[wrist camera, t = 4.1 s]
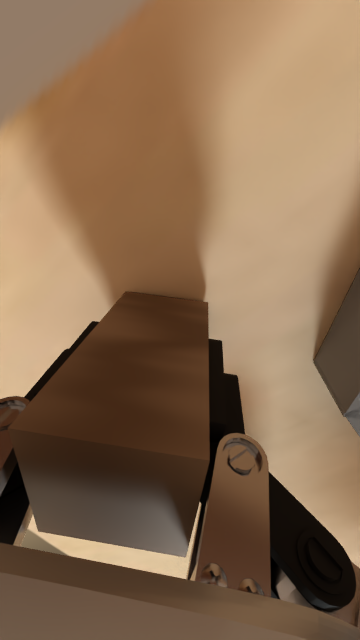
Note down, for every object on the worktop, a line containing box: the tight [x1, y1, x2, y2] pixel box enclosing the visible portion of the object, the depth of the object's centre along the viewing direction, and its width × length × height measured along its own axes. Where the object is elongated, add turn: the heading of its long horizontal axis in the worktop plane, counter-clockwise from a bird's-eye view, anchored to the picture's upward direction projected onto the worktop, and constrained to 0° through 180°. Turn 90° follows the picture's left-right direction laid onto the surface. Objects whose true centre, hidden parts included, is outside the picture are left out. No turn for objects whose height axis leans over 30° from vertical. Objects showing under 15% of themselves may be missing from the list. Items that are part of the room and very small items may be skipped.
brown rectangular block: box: [8, 292, 210, 557], centre depth 9 cm, size 4×4×8 cm
